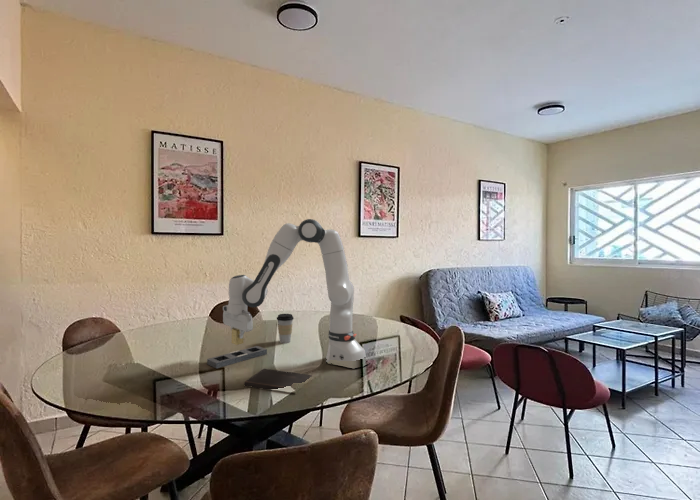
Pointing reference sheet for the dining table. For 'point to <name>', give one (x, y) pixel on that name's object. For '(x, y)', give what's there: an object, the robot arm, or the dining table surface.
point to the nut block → (236, 337)
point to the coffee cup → (285, 327)
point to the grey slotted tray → (236, 356)
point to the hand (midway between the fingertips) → (237, 336)
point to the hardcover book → (275, 379)
